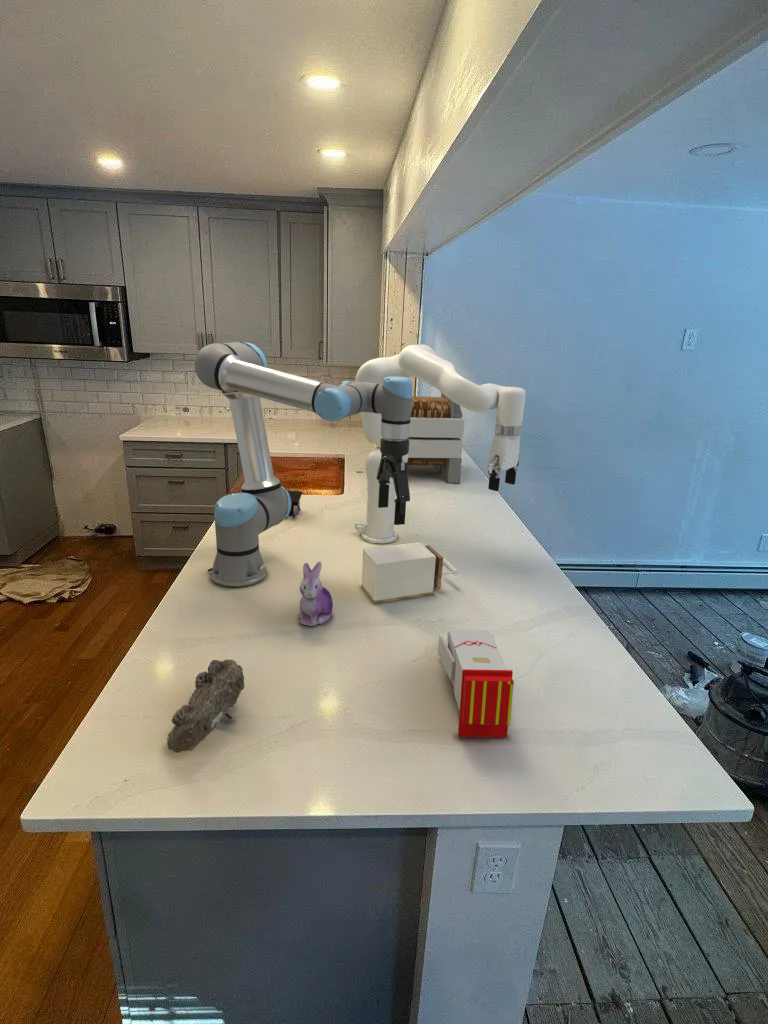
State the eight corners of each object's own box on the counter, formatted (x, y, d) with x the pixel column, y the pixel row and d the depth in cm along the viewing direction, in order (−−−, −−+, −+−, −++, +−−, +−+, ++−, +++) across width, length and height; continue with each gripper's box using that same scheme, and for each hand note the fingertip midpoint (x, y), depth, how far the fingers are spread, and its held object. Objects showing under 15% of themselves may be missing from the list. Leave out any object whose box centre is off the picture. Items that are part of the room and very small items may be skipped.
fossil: (192, 660, 117) (244, 628, 112) (224, 691, 120) (276, 661, 115) (142, 746, 98) (202, 712, 93) (182, 779, 101) (242, 748, 96)
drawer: (443, 572, 170) (445, 542, 166) (458, 586, 162) (461, 555, 158) (375, 582, 162) (376, 551, 158) (387, 597, 154) (389, 564, 150)
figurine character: (298, 524, 207) (303, 507, 221) (298, 506, 204) (302, 489, 217) (280, 524, 207) (285, 506, 220) (279, 505, 204) (285, 488, 217)
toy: (488, 613, 130) (523, 677, 101) (484, 667, 133) (517, 744, 104) (435, 612, 130) (455, 676, 101) (432, 666, 133) (451, 743, 103)
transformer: (382, 463, 289) (386, 382, 275) (445, 464, 293) (451, 384, 279) (390, 482, 257) (394, 392, 243) (460, 483, 261) (468, 394, 247)
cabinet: (417, 578, 167) (419, 541, 164) (432, 594, 158) (436, 556, 154) (361, 586, 161) (362, 548, 157) (374, 603, 152) (376, 564, 148)
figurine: (305, 631, 137) (304, 575, 132) (291, 611, 146) (290, 558, 141) (340, 623, 142) (342, 569, 137) (325, 604, 150) (326, 552, 145)
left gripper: (426, 449, 137) (420, 531, 144) (393, 428, 159) (389, 499, 166) (397, 450, 134) (392, 533, 141) (367, 428, 156) (364, 501, 164)
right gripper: (511, 424, 173) (505, 478, 179) (481, 432, 160) (475, 489, 166) (533, 428, 168) (526, 484, 174) (504, 436, 156) (497, 495, 162)
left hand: (390, 515), depth 154 cm, fingers open, 13 cm apart
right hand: (501, 486), depth 170 cm, fingers open, 9 cm apart
